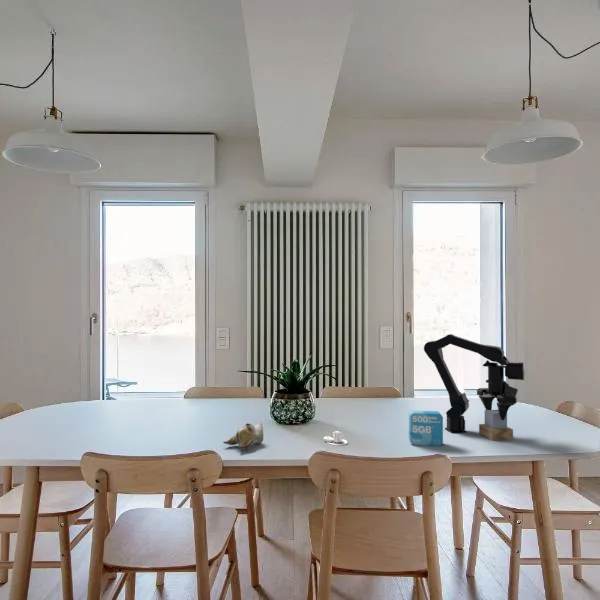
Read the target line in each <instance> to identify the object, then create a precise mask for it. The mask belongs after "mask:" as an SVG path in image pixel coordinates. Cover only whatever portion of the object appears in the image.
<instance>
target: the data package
mask: <svg viewBox="0 0 600 600" xmlns="http://www.w3.org/2000/svg"><path fill="white" fill-rule="evenodd" d="M408 412H409V413H408V439H409V442H410V444H411V445H413V446H430V447H431V446H432V447H433V446H434V447H440V446H442V445H443V443H444V417H443V415H442V414H441V413H440V412H439V411H437V410H410V411H408Z"/></svg>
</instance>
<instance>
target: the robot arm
mask: <svg viewBox="0 0 600 600" xmlns="http://www.w3.org/2000/svg"><path fill="white" fill-rule="evenodd" d="M450 345H452V346H455V347H458V348H461V349H464V350H467V351H470V352H474V353H476V354H478V355H480V356H482V357H483V358H485V359H487V360H486V361H485V363H484V364H482V366H483V367H487V379H485V383H487V387H479V388H478V389H477V390H476V396H478V398H479V400H480V401H481V402H482V404H483V407H484V408H485V409H484V410H493V409H492V407H493V401H494V399H496V406H497V410H499V414H500V417H501V420H504V419H505V417H506V414H507V415H508V411H509V409H510V407H512V406H514V405H515V404H517V403H518V401H517V399H518V398H517V394H518V391H519V389H518V388H515V387H513V386H510V384H509V383H507V381H506V380H504V376H505V377H506V378H507V379H508V380H515V381H525V377H526V376H525V374H526V373H525V368H524V367H525V366H524V365H525V364H524V362H522V361H521V362H510V360H509V359H508V358H507V357H506V356H505V352H504V349H503V348H502V347H500V346H497V345H490V344H489V345H488V344H481V343H479V342H475V341H472V340H469V339H466V338H462V337H459V336H456V335H455V334H452V333H449V334H447V335H445V336H444V337H441V338H438V339H436V340H431V341H427V342H425V344H424V345H423V351H424V353H425V354H426V356H427V357H428V358H429V359H430V361H431V362H432V364H434V366H435V368H436V370H437V372H438V374H439V376H440V378H441V381H442V383H443V384H444V386H445V389H446V391H447V393H448V398H449V399H448V400H449V403H450V407H451V408H448V410H447V411H446V412H445V413H446V414H445V415H446V427H444V430H446V431H447V432H450V433H451V434H458V433H460V434H461V433H467V430H466V420H465V416H464V414H465V413H466V412H467V411H468V409H469V407H470V403H469V402H470V400H469V399H468V397H467V395H466V392H463V393H462V392H461V391H460V390H459V388H458V386H457V384H456V382H455V380H454V378H453V376H452V374H451V372H450V369H449V367H448V366H447V364H446V361H445V359H444V353H443V348H446V347H447V346H450Z"/></svg>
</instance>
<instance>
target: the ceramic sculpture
mask: <svg viewBox="0 0 600 600" xmlns="http://www.w3.org/2000/svg"><path fill="white" fill-rule="evenodd" d="M263 441H264V426H263V423H262V422H260V423H258V424H255V425H253V424H251V423H246V424H245V425H244V426H243V427H239V428H238V430H236V433H235V435H233V436H232V437H230V438H229V439H228V440H227V441H223V444H226V445H229V446H235V445H238V446H239V449H240V450H246V449H249V448H250V447H251V446H253V445H255V444H256V445H257V444H258V445H261V444H262V443H263Z"/></svg>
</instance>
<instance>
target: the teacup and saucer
mask: <svg viewBox="0 0 600 600" xmlns="http://www.w3.org/2000/svg"><path fill="white" fill-rule="evenodd" d="M332 434H333V437H331V436H329V435H327V436H324V437H323V440H324V441H325V442H326V443H327V444H328V445H333V446H343V445H347V444H348V441H347V440H346V439H344V438H345V434H343V433H342V432H341V431H337V430H336V431H333V432H332ZM332 442H334V443H332ZM341 442H343V443H341Z"/></svg>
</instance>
